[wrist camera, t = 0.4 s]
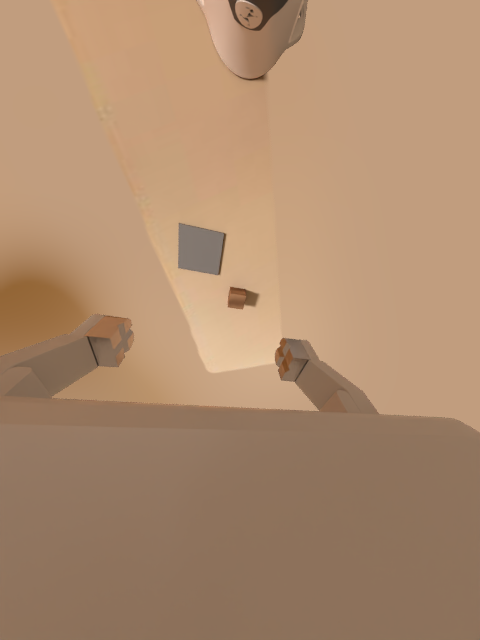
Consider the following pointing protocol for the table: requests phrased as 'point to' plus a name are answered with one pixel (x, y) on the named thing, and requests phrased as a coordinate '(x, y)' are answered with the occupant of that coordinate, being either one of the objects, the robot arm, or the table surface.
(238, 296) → the walnut cube
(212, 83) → the table surface
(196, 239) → the slate pad
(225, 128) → the table surface
